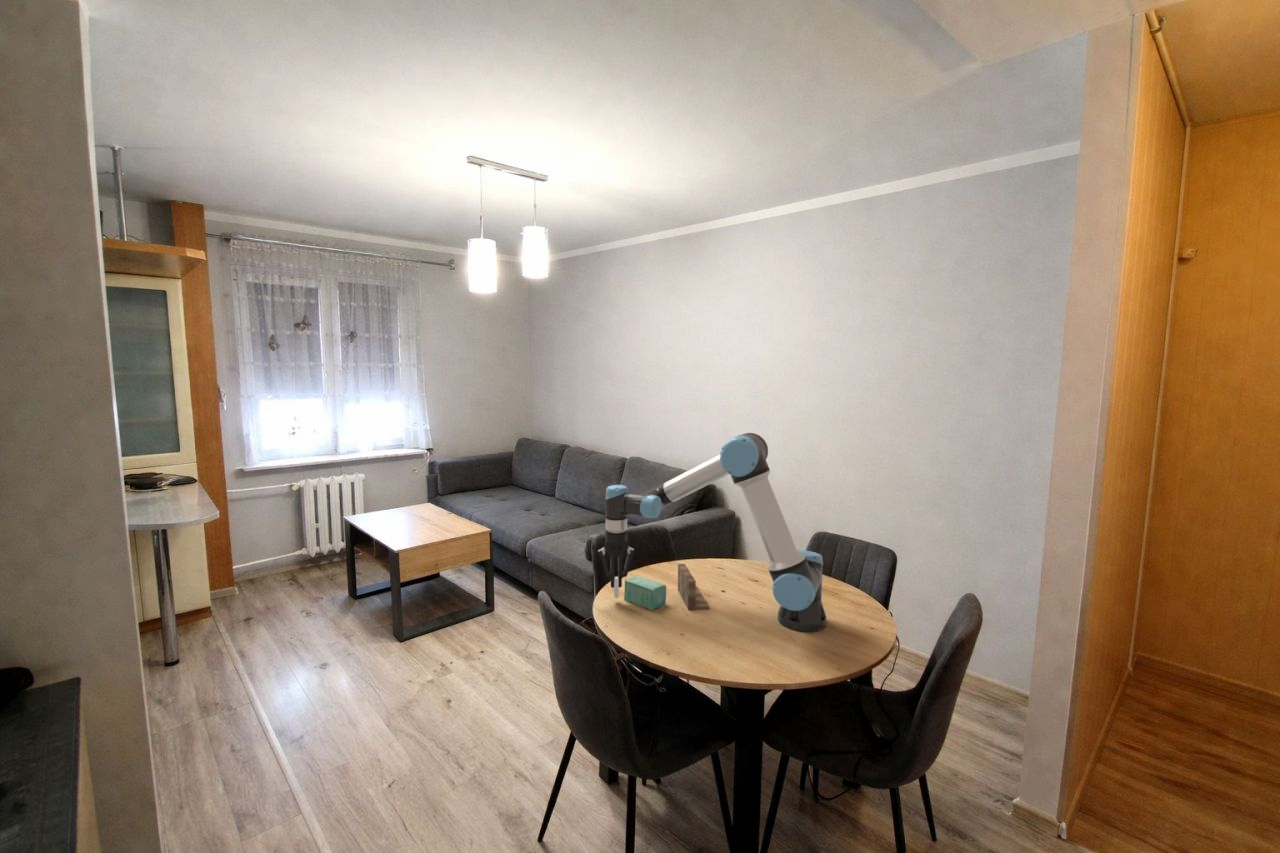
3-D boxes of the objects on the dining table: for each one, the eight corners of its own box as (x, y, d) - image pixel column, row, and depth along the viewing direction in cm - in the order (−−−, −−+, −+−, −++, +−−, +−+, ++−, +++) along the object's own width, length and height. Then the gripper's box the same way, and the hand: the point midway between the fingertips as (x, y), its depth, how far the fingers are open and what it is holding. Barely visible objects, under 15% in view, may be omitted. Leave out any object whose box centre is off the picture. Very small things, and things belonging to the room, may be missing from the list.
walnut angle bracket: (708, 609, 188) (709, 580, 188) (688, 610, 188) (688, 581, 187) (696, 589, 206) (697, 563, 205) (677, 590, 205) (678, 563, 204)
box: (653, 611, 187) (653, 589, 186) (623, 600, 195) (623, 580, 195) (666, 604, 192) (667, 583, 192) (637, 594, 201) (637, 574, 200)
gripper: (633, 526, 196) (633, 591, 198) (596, 527, 194) (596, 592, 196) (636, 532, 188) (635, 599, 190) (598, 533, 186) (598, 601, 188)
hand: (616, 596), depth 193 cm, fingers closed
